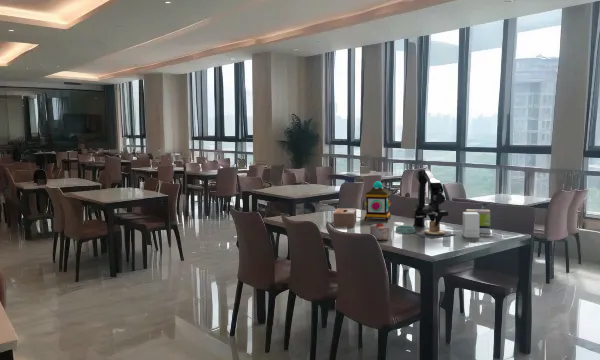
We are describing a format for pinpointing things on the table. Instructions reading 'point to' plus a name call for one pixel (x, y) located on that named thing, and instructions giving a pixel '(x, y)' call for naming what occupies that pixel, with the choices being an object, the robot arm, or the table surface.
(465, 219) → the supplement box
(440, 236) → the mat
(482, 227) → the tea box
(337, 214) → the tissue box cover
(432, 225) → the lid
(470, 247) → the table surface
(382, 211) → the decorative lantern
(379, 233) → the food item
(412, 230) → the bowl
